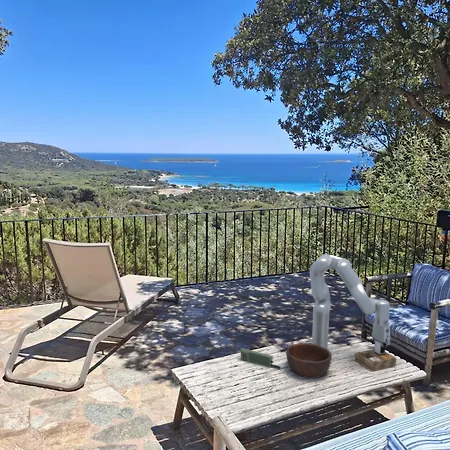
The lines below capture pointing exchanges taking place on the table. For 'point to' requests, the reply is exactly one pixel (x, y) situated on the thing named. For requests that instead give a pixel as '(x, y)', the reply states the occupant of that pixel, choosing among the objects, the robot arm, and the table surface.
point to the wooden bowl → (308, 359)
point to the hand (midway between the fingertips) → (379, 350)
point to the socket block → (375, 360)
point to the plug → (378, 346)
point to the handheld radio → (257, 358)
